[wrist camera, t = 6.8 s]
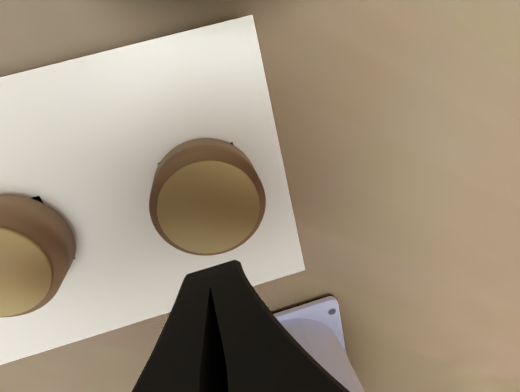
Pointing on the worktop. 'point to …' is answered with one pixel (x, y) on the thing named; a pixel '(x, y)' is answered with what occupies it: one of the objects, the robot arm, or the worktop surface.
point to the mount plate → (136, 172)
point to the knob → (206, 197)
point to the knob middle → (31, 254)
